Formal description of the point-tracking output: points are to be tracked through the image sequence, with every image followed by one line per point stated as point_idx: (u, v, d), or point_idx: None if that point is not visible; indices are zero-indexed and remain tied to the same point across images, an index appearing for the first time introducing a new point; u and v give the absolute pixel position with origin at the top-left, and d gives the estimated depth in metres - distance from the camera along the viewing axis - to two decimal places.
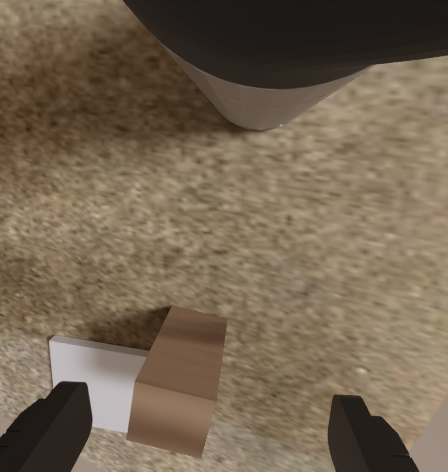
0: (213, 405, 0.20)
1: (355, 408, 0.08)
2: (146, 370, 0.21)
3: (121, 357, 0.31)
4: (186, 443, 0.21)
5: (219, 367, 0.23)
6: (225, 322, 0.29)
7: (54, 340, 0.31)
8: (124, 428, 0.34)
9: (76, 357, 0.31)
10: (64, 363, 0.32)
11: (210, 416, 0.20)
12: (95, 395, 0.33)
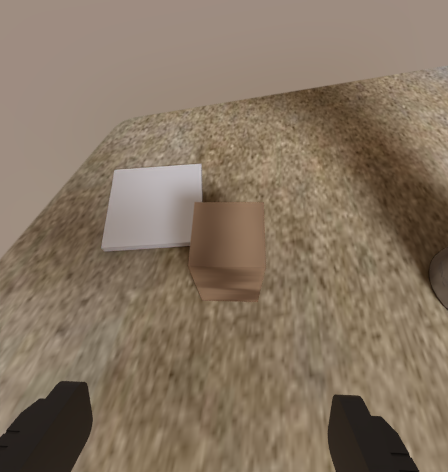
0: (260, 265, 0.21)
1: (355, 408, 0.08)
2: None
3: None
4: (204, 250, 0.22)
5: (262, 279, 0.24)
6: None
7: (201, 167, 0.38)
8: (110, 223, 0.34)
9: (188, 182, 0.37)
10: (180, 173, 0.37)
11: (246, 265, 0.21)
12: (149, 197, 0.36)
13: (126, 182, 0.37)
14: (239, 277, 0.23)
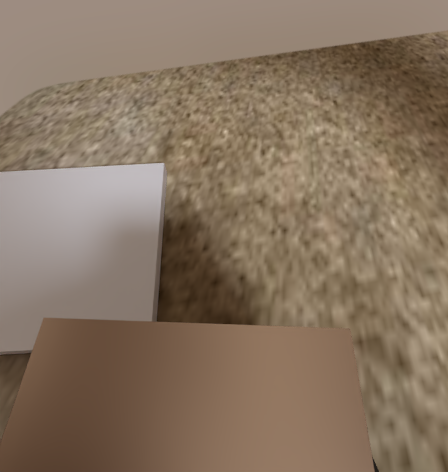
0: None
1: None
2: None
3: (144, 274, 0.16)
4: None
5: None
6: None
7: (163, 170, 0.19)
8: None
9: (135, 200, 0.18)
10: (120, 182, 0.19)
11: None
12: (48, 232, 0.17)
13: (10, 197, 0.18)
14: None
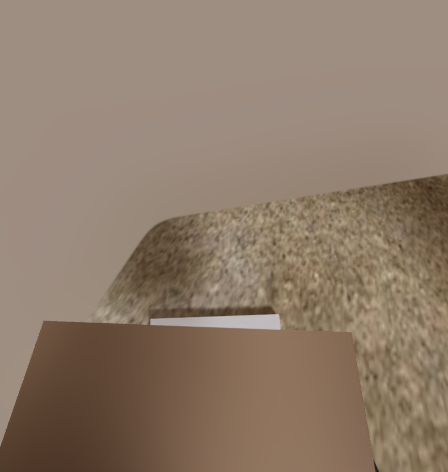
0: None
1: None
2: None
3: None
4: None
5: None
6: None
7: (278, 320, 0.26)
8: None
9: None
10: None
11: None
12: None
13: None
14: None
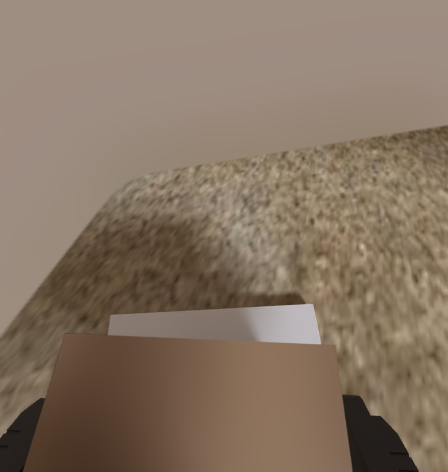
0: None
1: (355, 408, 0.08)
2: None
3: None
4: None
5: None
6: None
7: None
8: None
9: None
10: (267, 334, 0.16)
11: None
12: None
13: None
14: None
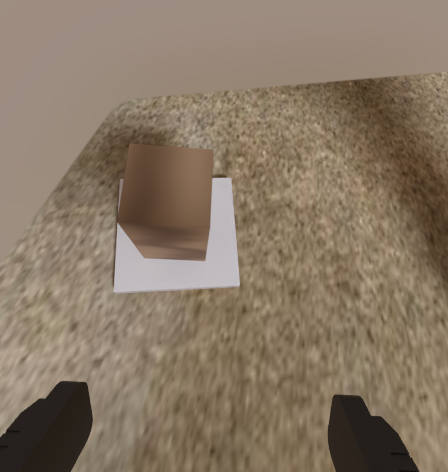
0: (203, 225, 0.18)
1: (355, 408, 0.08)
2: None
3: (230, 249, 0.28)
4: (138, 203, 0.18)
5: None
6: (205, 258, 0.27)
7: (230, 182, 0.31)
8: (122, 258, 0.27)
9: (217, 203, 0.30)
10: None
11: (187, 224, 0.18)
12: None
13: None
14: (181, 236, 0.20)
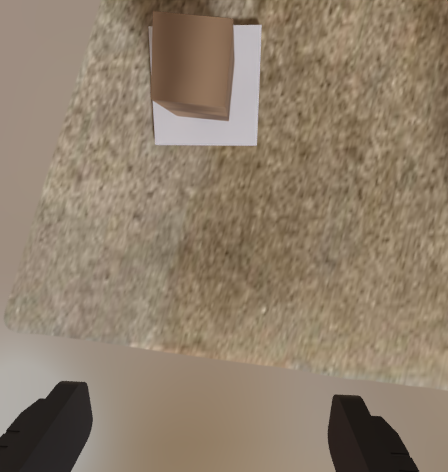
0: (219, 104, 0.22)
1: (355, 408, 0.08)
2: (232, 32, 0.22)
3: (252, 111, 0.31)
4: (166, 81, 0.22)
5: (226, 111, 0.25)
6: (228, 119, 0.31)
7: (260, 31, 0.29)
8: (159, 115, 0.32)
9: (244, 59, 0.30)
10: None
11: (206, 103, 0.22)
12: None
13: None
14: (203, 108, 0.24)
